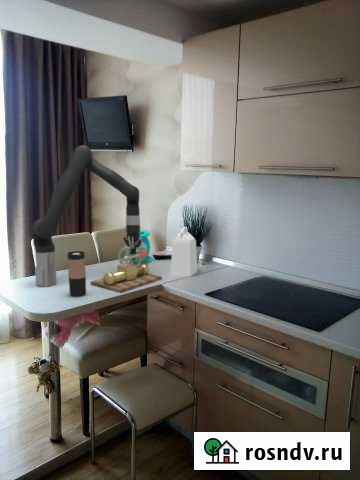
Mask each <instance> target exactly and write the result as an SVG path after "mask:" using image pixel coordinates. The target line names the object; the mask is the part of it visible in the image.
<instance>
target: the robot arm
mask: <svg viewBox="0 0 360 480" xmlns="http://www.w3.org/2000/svg"><path fill="white" fill-rule="evenodd" d="M85 169H86V170H87V171H89V172H91V173H92V174H94V175H96V176H98V177H99V178H101V179H102V180H103V181H104V182H106V184H107V183H108V184H109V185H110V186H111V187H113V188H114V189H115V190H117V191H119V193H121V194H122V195H123V196H125V198H126V208H125V213H126V214H125V215H126V217H125V232H126V236H124V237H123V238H122V239H123V241H124V243H125V244H126V245H127V246H128V247H130V249H131V255H132V254H136V248H138V247H140V245H141V244H142V242H143V239H141V238H140V234H139V233H140V231H141V218H140V216H141V215H140V190H139V188H138V187H137V186H135V185H133V184H131V183H130V182H128V181H127V180H126V179H125V178H124V177H123V176H121V175H120V174H119V173H117V171H114V170H113V169H111V168H109V167H107V166H104V165H103V164H101V163H100V162H98V161H97V159H96V158H94V156H93V153H92V150H91V148H90V147H89V146H88V145H84V144H81V145H78V146H77V147H76V148H75V149H74V151H73V154H72V156H71V158H70V162H69V164H68V165H67V168H66V169H65V170H64V172H63V174H62V175H61V177H60V178H59V180H58V182H57V184H56V186H55V188H54V190H53V191H52V194H51V199H50V204H49V208H48V211H46V214H45V216H44V218H39V219H36V221H34V222H33V224H32V230H31V231H32V239H33V241H32V242H33V246H34V249H35V262H36V266H35V267H34V272H35V273H34V274H35V285H36V286H38V287H42V288H46V287H52V286H55V285H57V284H58V280H57V279H58V278H57V276H58V275H57V265H56V262H57V261H56V260H57V258H56V246H55V244H54V242H53V239H52V238H53V236H55V234H56V231H57V230H58V227H59V224H60V222H61V220H62V217H63V216H64V213H65V211H66V209H67V207H68V206H69V204H70V202H71V200H72V198H73V196H74V194H75V192H76V190H77V187H78V184H79V181H80V178H81V176H82V173H83V171H84V170H85ZM128 243H129V244H128ZM126 245H125V246H126Z"/></svg>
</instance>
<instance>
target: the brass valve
mask: <svg viewBox="0 0 360 480" xmlns="http://www.w3.org/2000/svg"><path fill="white" fill-rule="evenodd" d="M123 263H124V264H121V263H119V264H118V265H116V269H117V272H107V273H105V274H104V275H103V277H102V279H103V282H104V284H105V285H110V286H111V285H114V284H115V283H117V282H120V281H124V280H126V281H128V280H131V279H135V278H137V276H140V275H147V274H149V266H148V264H146V263H140V265H138V267H136V265H137V264H136V263H133V264H131V262H130V263H129V261H128V259H127V260H126V259H125V261H124V262H123Z"/></svg>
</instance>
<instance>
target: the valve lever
mask: <svg viewBox="0 0 360 480" xmlns="http://www.w3.org/2000/svg"><path fill="white" fill-rule="evenodd" d="M144 256H147V250H142V251H137V253H136V254H132V255H128V256H126V255H123V259H126V260H127V259H130V258H134V257H144Z"/></svg>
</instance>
